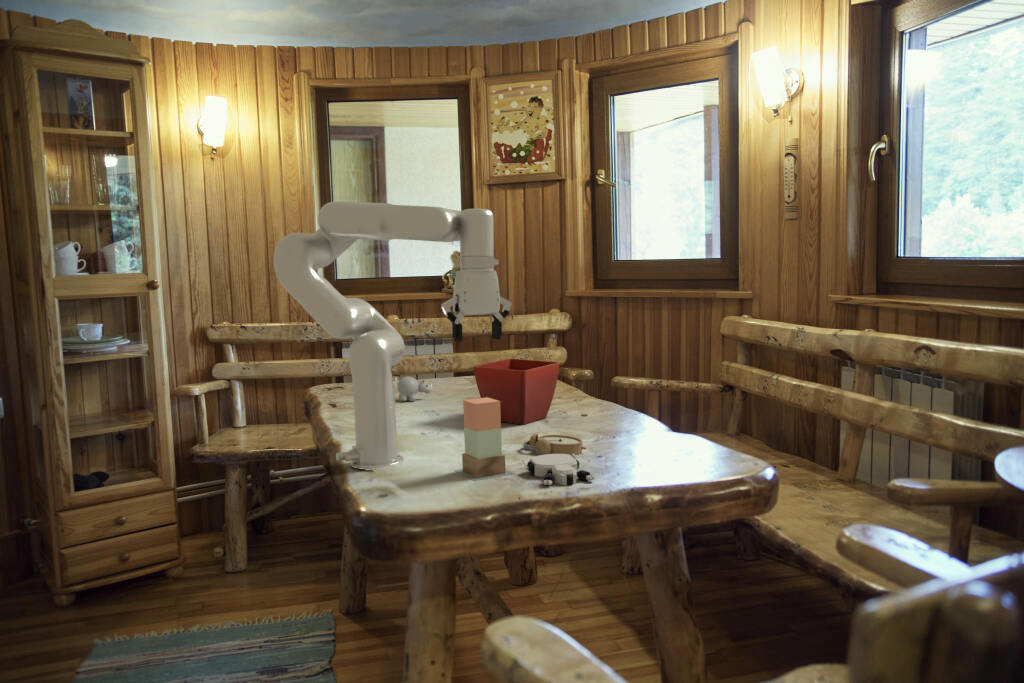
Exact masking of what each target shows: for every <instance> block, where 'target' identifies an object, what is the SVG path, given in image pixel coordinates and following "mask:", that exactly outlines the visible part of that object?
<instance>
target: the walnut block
mask: <svg viewBox="0 0 1024 683" xmlns="http://www.w3.org/2000/svg"><path fill="white" fill-rule="evenodd" d="M461 456H462V458H461V460H462V461H461V463H462V469H463V471H464V472H466V473H468V474H470V475H472V476H474V477H476V478H481V477H487V476H492V475H498V474H504V473H505V470H506V455H505V454H503V453H502V455H500V456H493V457H487V458H481V459H476V458H474V457H472V456H469V455H467V454H465V452H463V453H461Z"/></svg>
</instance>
